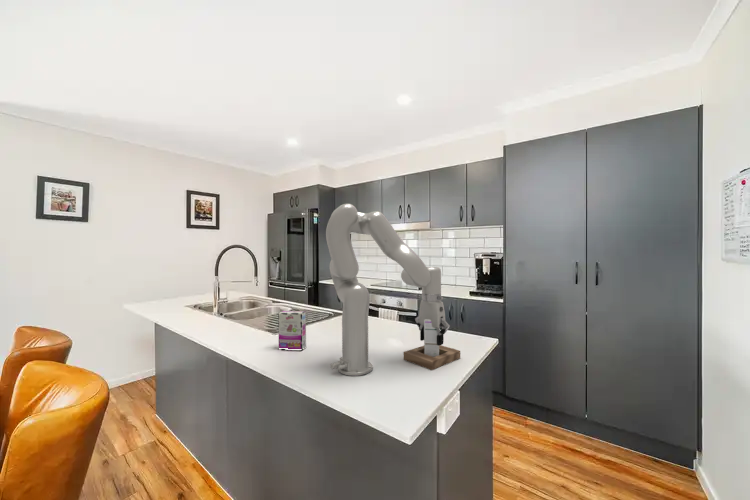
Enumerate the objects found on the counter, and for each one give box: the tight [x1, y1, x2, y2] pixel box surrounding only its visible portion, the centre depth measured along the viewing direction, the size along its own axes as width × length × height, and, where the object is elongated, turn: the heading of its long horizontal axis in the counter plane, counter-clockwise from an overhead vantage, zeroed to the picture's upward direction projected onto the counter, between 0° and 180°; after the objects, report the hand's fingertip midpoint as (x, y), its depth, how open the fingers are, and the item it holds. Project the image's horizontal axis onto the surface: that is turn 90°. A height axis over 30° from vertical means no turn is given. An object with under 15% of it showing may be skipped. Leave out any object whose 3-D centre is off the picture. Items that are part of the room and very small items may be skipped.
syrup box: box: [423, 319, 439, 357], centre depth 118 cm, size 6×6×14 cm
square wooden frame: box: [403, 344, 461, 371], centre depth 118 cm, size 18×14×3 cm
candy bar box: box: [277, 310, 307, 349], centre depth 132 cm, size 11×5×16 cm, turn 80°
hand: (431, 342), depth 118 cm, fingers closed on syrup box, 7 cm apart
